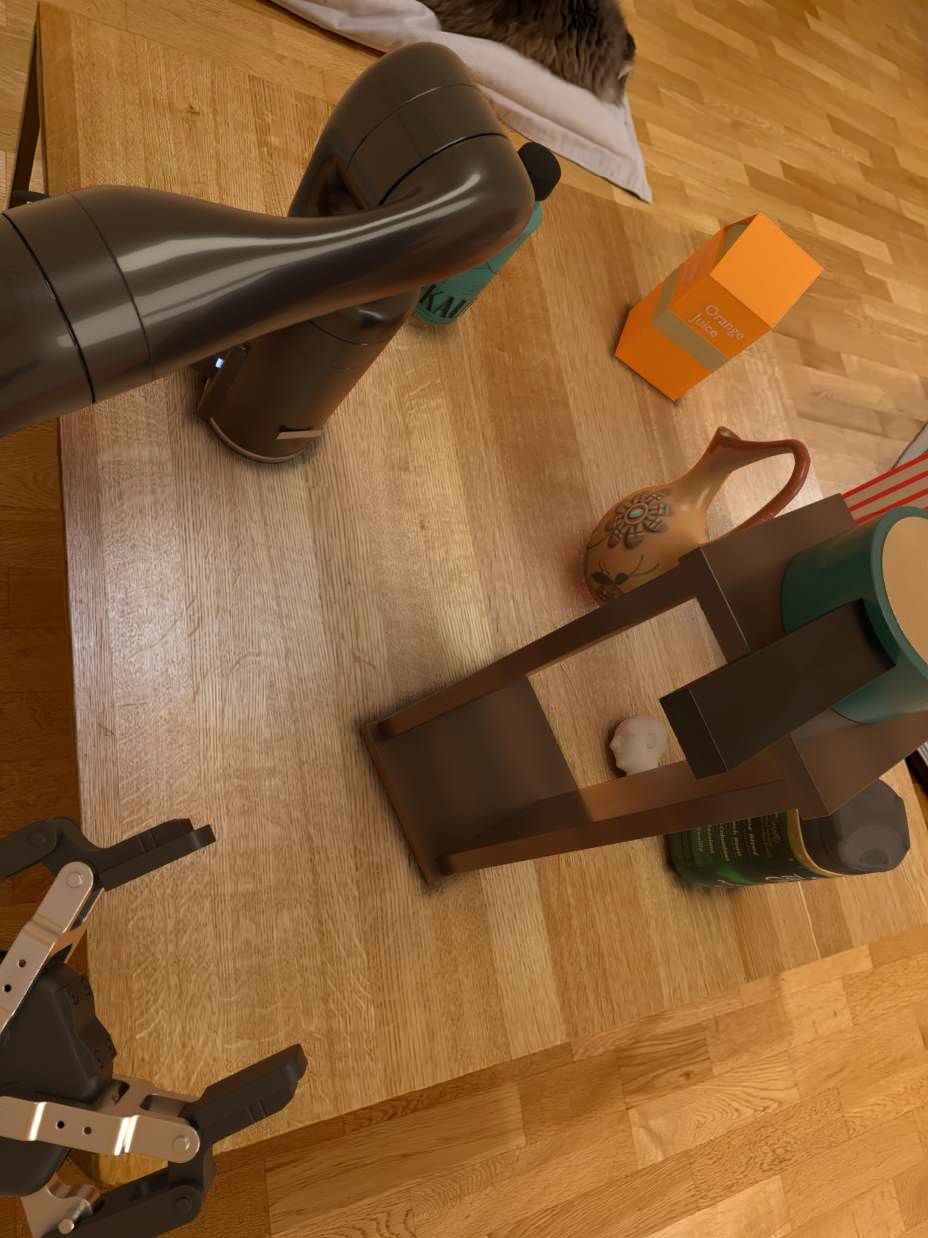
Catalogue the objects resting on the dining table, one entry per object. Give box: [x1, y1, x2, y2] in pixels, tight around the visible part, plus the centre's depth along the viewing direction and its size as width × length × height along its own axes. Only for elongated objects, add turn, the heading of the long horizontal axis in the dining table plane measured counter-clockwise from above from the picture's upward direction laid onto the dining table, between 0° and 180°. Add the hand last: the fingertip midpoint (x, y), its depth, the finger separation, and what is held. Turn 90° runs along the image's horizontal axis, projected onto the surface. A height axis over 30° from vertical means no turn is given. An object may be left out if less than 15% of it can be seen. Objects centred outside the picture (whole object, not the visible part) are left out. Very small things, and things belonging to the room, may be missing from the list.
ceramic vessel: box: [583, 425, 812, 607], centre depth 80 cm, size 16×9×25 cm, turn 167°
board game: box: [841, 451, 928, 525], centre depth 86 cm, size 20×6×27 cm, turn 5°
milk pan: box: [658, 506, 928, 780], centre depth 40 cm, size 20×9×5 cm, turn 118°
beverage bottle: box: [412, 141, 562, 327], centre depth 81 cm, size 6×7×20 cm
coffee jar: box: [668, 777, 911, 889], centre depth 78 cm, size 10×8×19 cm
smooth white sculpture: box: [609, 714, 669, 776], centre depth 83 cm, size 4×8×5 cm
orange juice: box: [614, 211, 825, 402], centre depth 96 cm, size 8×9×20 cm
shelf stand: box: [359, 492, 928, 887], centre depth 61 cm, size 16×13×37 cm
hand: (255, 945), depth 33 cm, fingers open, 8 cm apart
